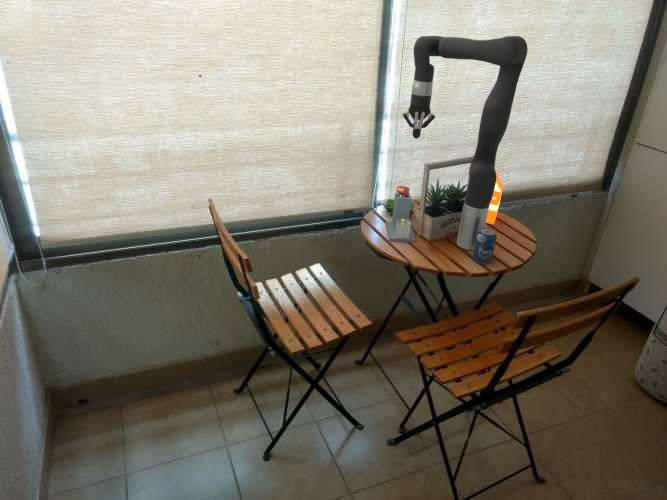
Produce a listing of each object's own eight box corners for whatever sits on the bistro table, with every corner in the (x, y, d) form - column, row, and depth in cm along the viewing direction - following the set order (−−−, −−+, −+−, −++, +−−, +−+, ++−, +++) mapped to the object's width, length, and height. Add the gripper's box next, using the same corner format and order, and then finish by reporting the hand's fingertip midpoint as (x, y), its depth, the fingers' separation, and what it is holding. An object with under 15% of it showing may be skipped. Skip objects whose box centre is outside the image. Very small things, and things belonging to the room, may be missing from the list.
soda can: (477, 265, 183) (484, 236, 177) (468, 256, 189) (474, 227, 183) (494, 264, 185) (501, 234, 179) (485, 255, 191) (491, 226, 185)
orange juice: (475, 220, 218) (484, 176, 209) (478, 213, 225) (487, 170, 216) (494, 224, 216) (504, 180, 206) (496, 216, 223) (506, 173, 213)
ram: (404, 217, 209) (408, 186, 202) (406, 222, 204) (410, 190, 198) (392, 216, 209) (396, 185, 202) (393, 221, 204) (397, 190, 198)
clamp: (388, 224, 221) (381, 207, 216) (391, 216, 225) (384, 199, 220) (414, 219, 215) (407, 202, 210) (416, 211, 219) (410, 194, 215)
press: (409, 224, 211) (413, 193, 204) (414, 242, 197) (419, 209, 190) (385, 223, 211) (389, 192, 204) (389, 241, 197) (393, 208, 190)
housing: (407, 233, 201) (409, 216, 198) (408, 238, 197) (411, 222, 193) (394, 232, 201) (396, 216, 197) (396, 238, 196) (398, 221, 193)
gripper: (437, 91, 195) (430, 136, 203) (403, 90, 194) (398, 134, 203) (440, 95, 188) (434, 141, 196) (405, 94, 188) (400, 139, 196)
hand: (415, 137), depth 200 cm, fingers closed
